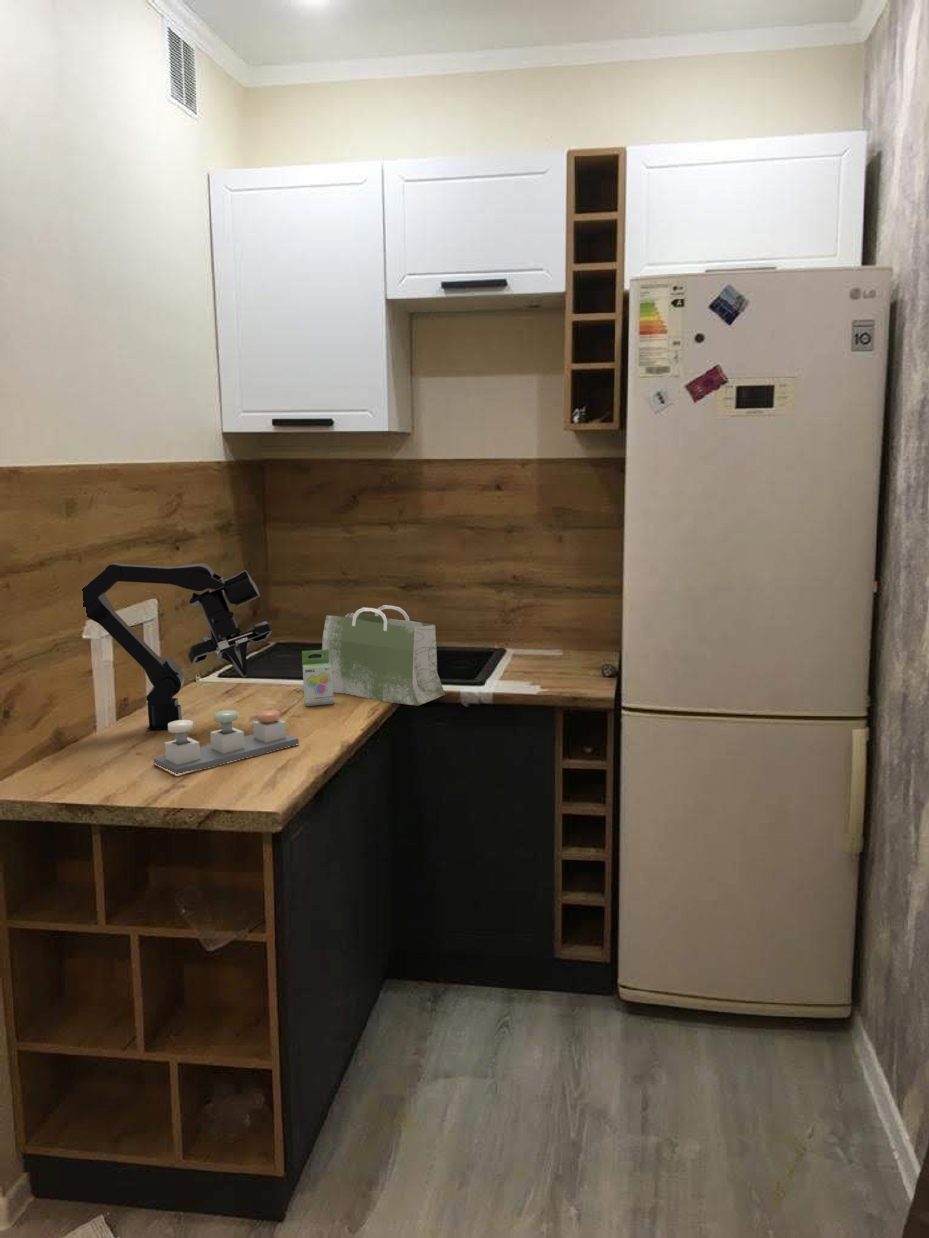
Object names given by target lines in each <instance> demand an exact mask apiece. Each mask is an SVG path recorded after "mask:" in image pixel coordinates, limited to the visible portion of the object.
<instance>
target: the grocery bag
mask: <svg viewBox="0 0 929 1238" xmlns="http://www.w3.org/2000/svg"><path fill="white" fill-rule="evenodd" d="M383 610H394V611H397V612H399V613H400V614H402V616H403V617H404V620H403V619H393V618H388V617H387V616H386V614H385V613H384V612H382V611H383ZM363 612H372V613H374V614H367V613H363ZM321 641H322V643H321V644H322V645H321V650H326V649H329V663H330V665H331V667H332V683H333V693H338V694H344V693H345V695H349V694H350V696H354V695H355V696H354V697H360V698H361V697H362V698H365V697H366V698H365V699H370V698H372V699H371V700H376V699H377V700H376V701H381V700H382V702H386V703H393V704H403V705H408V706H409V705H410V706H421V705H423V704H426V703H428V702H431V701H434V700H436V699H439V698H441V697H443V696H446V692H445V690H444V687H443V685H442V681H441V679H440V676H439V674H438V649H437V647H438V645H437V629H436V624H431V623H425V622H419V621H412V620H410V617H409V615H408V614H407V612H406V611H405V610H404V609H402V608H401V607H399V606H395V605H386V604H383V605H381V606H379V607H377V608H374V607H361V608H359V609H357V610H356V611H355V612H348V613H347V614H346V615H345V616H339V615H326V616H325V621H324V628H323V634H322V639H321ZM322 657H323V655H321V658H322Z"/></svg>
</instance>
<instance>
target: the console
mask: <svg viewBox="0 0 929 1238" xmlns="http://www.w3.org/2000/svg"><path fill="white" fill-rule="evenodd" d="M252 730H253V733H252V734H249V735H245V732H244V731H243V730H240V729H238V728H237V727H233V726H232V733H230V734H225V735H223V734H222V732H221V729H218V730H213V731H210V744H206V745H203V746H200V741H197V740H196V739H193V738H191V737H189V736H187V742H188V743H187V744H183V745H179V746H178V745H176V739H174V740H170V741H166V742H164V751H165V755H161V756H157V757H154V758H153V764H154V763H156V764H157V765H159V766H161V767H163V768H165V769H168V770H170V771H172V772H174V773H176V774H178V773H183V772H186V771H191V770H195V769H204V768H208V767H212V768H214V767H213V766H216V765H220V764H223V763H227V762H230V761H234V760H238V759H242V758H246V757H250V756H255V757H257V756H256V755H259V756H261V755H260V754H262V755H265V754H264V753H266V754H268V753H267V752H270V751H274V750H277V749H281V748H285V747H288V746H293V745H296V744H300V743H299V741H300V739H299V737H295V736H292V735H291V734H287V731H286V730H287V729H286V721H284V720H281V719H279V720H277V721H274V723H272V724H268V725H266V724H264V722H260V721H258V720H257V721H253V722H252ZM293 747H294V746H293ZM274 752H275V751H274ZM270 753H271V752H270ZM220 766H221V765H220ZM216 767H217V766H216ZM208 769H209V768H208Z"/></svg>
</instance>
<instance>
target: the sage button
mask: <svg viewBox="0 0 929 1238" xmlns="http://www.w3.org/2000/svg"><path fill="white" fill-rule="evenodd" d="M238 716H239V714H238V711H237V710H234V709H233V710H231V709H230V710H229V709H228V710H227V709H225V710H219V711H216V712H214V713H213V721H214V722H216V723H220V730H221V732H222V734H223V735H225V734H230V733H232V727H233V722H235V721H238V720H239V717H238Z"/></svg>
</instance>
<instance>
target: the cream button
mask: <svg viewBox="0 0 929 1238" xmlns="http://www.w3.org/2000/svg"><path fill="white" fill-rule="evenodd" d="M193 729H194V721H193V720H190V719H182V720H177V721H173V722H170V723H168V729H167V731H168V732H169V733H172V734H175V740H176V745H178V746H179V745H183V744H187V743H188V742H187V737H188V732H190V731H192V730H193Z"/></svg>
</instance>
